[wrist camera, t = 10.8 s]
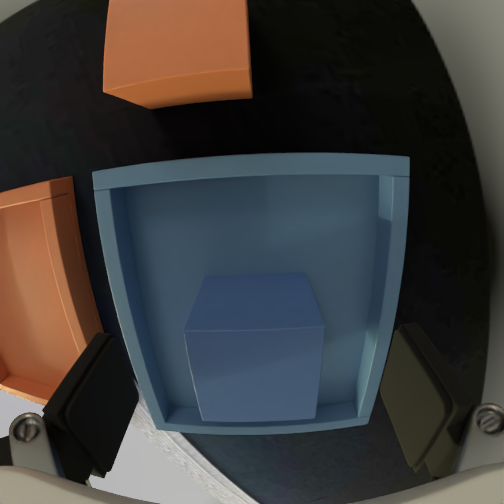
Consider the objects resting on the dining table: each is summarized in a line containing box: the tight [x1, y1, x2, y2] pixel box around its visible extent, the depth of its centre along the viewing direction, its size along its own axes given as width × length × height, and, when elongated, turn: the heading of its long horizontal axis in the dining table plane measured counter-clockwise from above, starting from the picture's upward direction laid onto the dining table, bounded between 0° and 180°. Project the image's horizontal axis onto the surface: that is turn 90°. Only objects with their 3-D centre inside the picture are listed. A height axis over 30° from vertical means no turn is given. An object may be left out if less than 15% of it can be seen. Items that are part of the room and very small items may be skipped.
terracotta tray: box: [0, 176, 104, 405], centre depth 14 cm, size 15×13×2 cm
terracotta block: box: [103, 0, 253, 109], centre depth 9 cm, size 4×4×4 cm
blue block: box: [183, 273, 326, 422], centre depth 12 cm, size 4×4×4 cm
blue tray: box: [92, 153, 410, 435], centre depth 13 cm, size 15×13×2 cm
